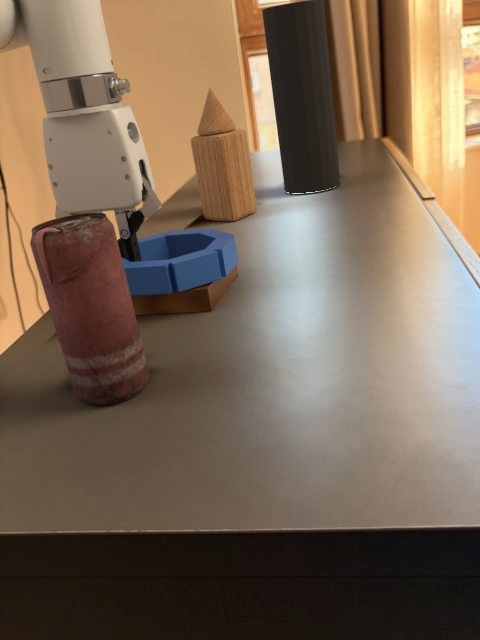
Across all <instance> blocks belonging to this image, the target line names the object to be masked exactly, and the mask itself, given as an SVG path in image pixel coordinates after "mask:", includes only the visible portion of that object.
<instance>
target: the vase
mask: <svg viewBox="0 0 480 640" xmlns="http://www.w3.org/2000/svg"><path fill="white" fill-rule="evenodd" d="M325 10H326V9H325V1H324V0H301V1H295V2H289V3H284V4H279V5H273V6H270V7H265V8H263V9H262V10H261V12H262V14H261V15H262V20H263V22H262V23H263V28H264V37H265V44H266V52H267V61H268V69H269V75H270V77H269V78H270V84H271V92H272V99H273V107H274V108H273V109H274V116H275V123H276V131H277V139H278V147H279V148H278V149H279V154H280V162H281V163H280V164H281V171H282V179H283V185H284V192H285V191H286V192H289V193H306V192H315V191H321V190H326V189H329V188H333V187H335V186H338V185H339V184H340V185H341V176H340V165H339V154H338V142H337V130H336V119H335V111H334V98H333V88H332V87H333V86H332V77H331V66H330V65H331V64H330V55H329V42H328V32H327V31H328V30H327V21H326V11H325ZM340 185H339V186H340ZM339 186H338V187H339ZM286 192H285V193H286Z"/></svg>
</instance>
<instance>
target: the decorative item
mask: <svg viewBox="0 0 480 640" xmlns="http://www.w3.org/2000/svg"><path fill="white" fill-rule="evenodd" d="M196 131H197V132H196V133H197V135H194V136H193V137H191V138H190V147H191V152H192V157H193V164H194V169H195V174H196V175H195V176H196V180H197V186H198V191H199V196H200V202H201V208H202V213H203V218H204V219H205V221H209V220H213V221H212V222H236V221H238V220H240V219H242V218H245V217H247V216H249V214H250V215H252V214H254V213H256V212H257V210H258V206H257V205H258V204H257V199H256V192H255V185H254V177H253V171H252V165H251V157H250V150H249V144H248V136H247V131H246V130H245V129H242V128H237V126H236V123H234V121H233V120H232V118H231V117H230V114H229V113H228V112H227V110H226V109H225V108H224V106H223V104H222V103H221V102H220V100H219V98H218V97H217V95H216V94H215V93H214V90H212V88H211V87H209V88H208V91H207V95H206V98H205V103H204V105H203V110H202V113H201V116H200V120H199V124H198V128H197V130H196Z"/></svg>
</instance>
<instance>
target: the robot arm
mask: <svg viewBox="0 0 480 640" xmlns="http://www.w3.org/2000/svg"><path fill="white" fill-rule="evenodd" d="M104 19H105V17H104V15H103V8H102V3H101V0H0V54H4V53H7V52H11V51H13V50H16V49H21V48H23V47H27V46H29V50H30V54H31V57H32V62H33V65H34V69H35V70H34V71H35V73H36V78H37V82H38V85H39V90H40V93H41V98H42V102H43V105H44V109H45V112H46V117H43V118H42V135H43V136H42V137H43V138H42V139H43V147H44V154H45V155H44V156H45V161H46V167H47V172H48V177H49V182H50V186H51V191H52V194H53V195H52V196H53V198H54V201H55V203H56V204H55V213H54V217H55V219H57V218H61V217H66V216H71V215H76V214H83V213H103V212H109V211H113V213H114V217H115V221H116V226H117V230H118V235H119V238H117V241H118V245H119V250H120V254H121V257H122V258H124V259H126V260H128V261H130V262H139V261H141V254H140V249H139V245H138V240H137V239H138V236H137V233H138V232H139V231H140V228H141V226H142V225H143V223H144V222H145V221H146V219H147V218H150V217H151V216H153V215H155V214H156V213H158V212H159V211H160V210H162V208H163V204H162V202H161V200H160V199H159V197H158V195H157V194H156V185H155V180H154V175H153V171H152V167H151V163H150V159H149V156H148V153H147V149H146V146H145V143H144V139H143V137H142V133H141V131H140V127H139V125H138V123H137V119H136V117H135V115H134V112H133V109H132V108H131V106H130V105H123V106H122V102H121V101H123V97H122V96H124V94H129V93H130V92H131V84H130V81H129V79H128V78H120V77H118V73H116V72H115V67H114V62H113V57H112V53H111V48H110V44H109V38H108V32H107V28H106V24H105V20H104ZM140 204H142V206H141V207H140V208H138V209H136V207H138V206H139V205H140Z"/></svg>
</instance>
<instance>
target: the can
mask: <svg viewBox="0 0 480 640" xmlns="http://www.w3.org/2000/svg"><path fill="white" fill-rule="evenodd" d="M30 230H31V237H30V241H29V245H30V248H31V252H32V255H33V258H34V262H35V265H36V269H37V271H38V275H39V279H40V282H41V285H42V289H43V292H44V295H45V299H46V302H47V305H48V308H49V312H50V315H51V319H52V322H53V325H54V328H55V331H56V335H57V339H58V343H59V345H60V349H61V352H62V355H63V359H64V363H65V366H66V368H67V372H68V375H69V379H70V382H71V386H72V389H73V392H74V395H75V396H76V397H77V398H78V399H79V400H80V401H81V402H83V403H84V404H86V405H89V406H94V407H96V406H97V407H102V406H112V405H117V404H121V403H123V402H126V401H128V400H130V399H133V398H134V397H136V396H138V395H140V394H141V393H142V392H143V391H144V390H145V389H146V388H147V385H148V383H149V380H150V377H151V374H150V370H149V367H148V366H149V365H148V361H147V358H146V353H145V350H144V345H143V341H142V337H141V333H140V329H139V324H138V321H137V317H136V316H137V315H135V312H134V307H133V303H132V299H131V295H130V291H129V287H128V283H127V279H126V274H125V270H124V266H123V262H122V258H121V254H120V250H119V245H118V241H117V240H118V238H117V234H116V229H115V226H114V223H113V222H112V221H111V220H110V219H109V217H107V214H106V213H104V212H102V213H83V214H76V215H71V216H66V217H61V218H57V219H56V218H53V219H50V220H47V221H43V222H42V223H39V224H37V225H35V226H34V227H32V228H31V229H30Z"/></svg>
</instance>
